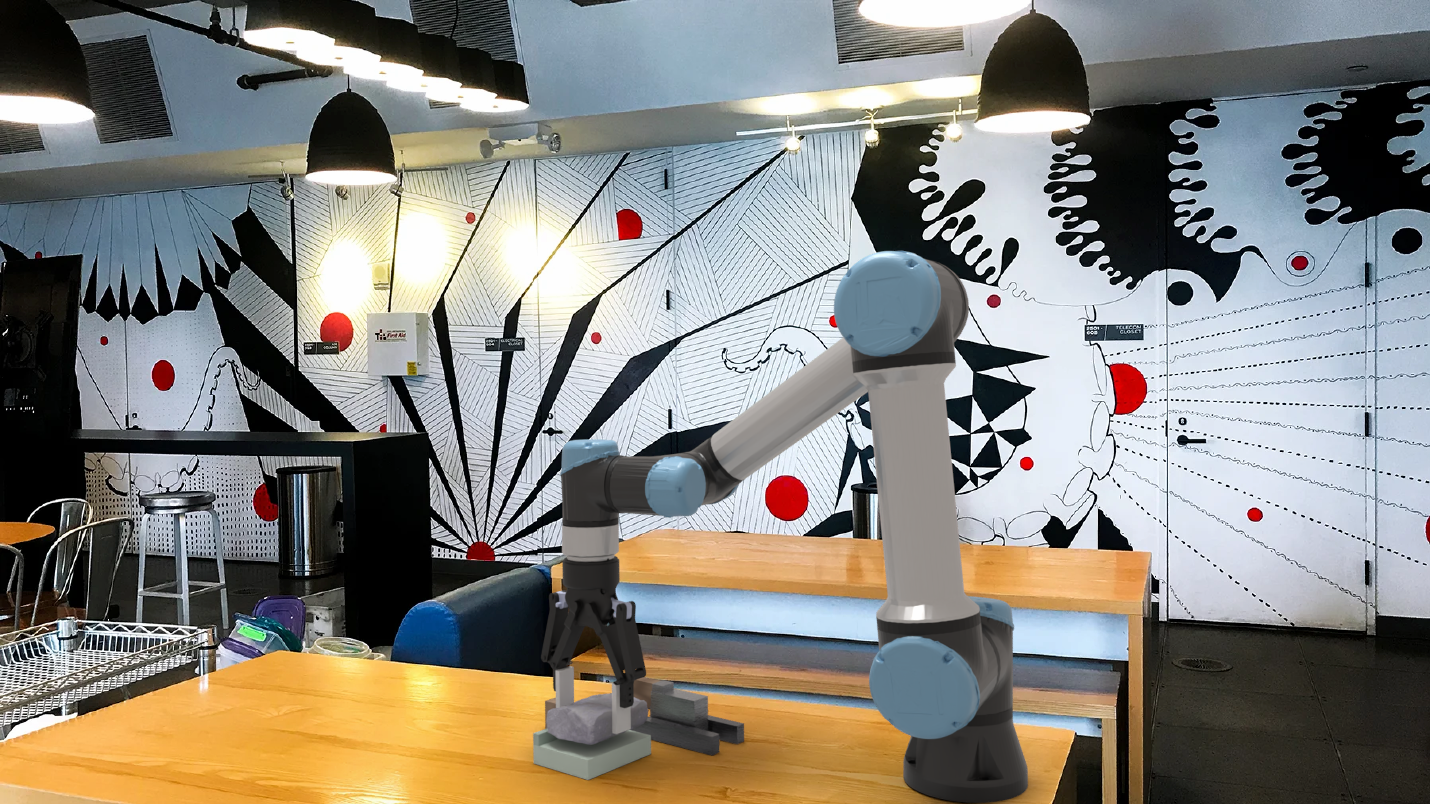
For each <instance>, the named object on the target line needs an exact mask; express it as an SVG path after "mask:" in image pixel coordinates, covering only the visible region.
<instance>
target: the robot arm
mask: <svg viewBox="0 0 1430 804" xmlns="http://www.w3.org/2000/svg"><path fill="white" fill-rule="evenodd" d="M844 274H845V275H843V277H842V278H841V280H840V281H839V284H838V287H837V289H836V291H835V296H834V300H833V315H834V320H835V321H834V322H835V324H836V326H837V329H838V332H839V333H840V335H841V336H842V338H841V339H839V340H838V341H836V342H835V343H833V345H831V346H830V347H828V348H827V349H826V350H824V351H823V352H822V353H820V354H819V355H817V356H816V357H815V358H814V359H812V360H811V361H809V362H808V363H807V364H806V365H805V366H803V367H802V368H800V369H799V370H798V371H796V372H795V373H794V374H792V375H791V376H790V377H788V378H787V379H786V380H784V381H783V382H781V383H780V384H779V385H778V386H776V387H775V388H773V390H771V391H770V392H768V393H767V394H766V395H764V396H763V397H761V398H760V399H759V400H758V401H757V402H755V403H753V404H752V405H751V406H750V407H748V408H747V409H745V410H743V412H742V413H740V414H739V415H738V416H736V417H735V418H734V419H733V420H731V421H729V422H728V423H727V424H726V425H724V426H723V427H721V429H718V431H716V432H715V433H714V434H713V435H712V436H711V437H709V438H707V439H706V440H704V442H701V444H699V445H698V446H696V447H695V448H693V449H692V450H690V451H685V452H680V453H674V454H664V455H654V456H627V455H622V454H621V455H620V450H619V445H618V443H617V441H615V440H612V439H597V438H596V439H595V438H594V439H592V438H591V439H573V440H569V441H567V442H565V443H564V445H563V446H562V451H561V452H562V453H561V470H560V473H559V476H560V480H561V481H560V482H561V483H560V484H561V485H560V486H561V500H562V501H561V502H562V503H561V504H562V507H561V508H562V518H561V519H562V522H561V527H562V528H561V554H562V555H564V556H565V558H564V559H563V560H561V562H562V563H561V564H562V585H563V586H564V587H565V588H566V590H565V589H564V590H560V591H556V592H550V593H549V595H548V600H549V601H548V602H549V613H548V617H547V622H546V628H545V634H544V637H543V639H544V640H543V644H542V649H541V656H540V659H541V661H542V662H543V663H548V664H549V665H550V667H551V668H552V682H553V683H552V688H553V691H554V692H555V698H556V708H559V707H562V706H569V705H571V704H573V703H574V702H575V668H574V666H570V665H572V664H573V663H574V662H573V661H572V657H573V655H574V653H575V649H576V648H577V645H578V643H579V641H580V638H581V636H582V634H583V631H584V629H585V628H586V627H588V628H590V629H593V630H594V633H595V635H596V636H598V637H599V638H600V641H601V644H602V646H603V648H604V650H605V653H606V656H607V658H608V661H609V664H610V666H611V670H612V672H613V675H614V677H615V679H616V680H615V681H613V682H611V693H612V733H614V734H619V733H621V732H624V731H626V730H629V729H631V706H633V703H634V695H633V694H634V681H635V680H637V679H640V678H643V677H646V676H647V670H646V665H645V659H644V655H643V650H642V646H641V640H640V636H639V631H638V626H637V621H636V609H637V607H636V605H637V604H636V602H635V601H633V600H630V601H622V600H619V598H618V595H617V590H616V589H617V587H618V585H619V583H620V578H621V577H620V558H618V556H616V554H618V553H619V552H620V545H619V544H620V543H619V541H620V538H619V537H620V532H619V530H620V529H619V527H620V525H619V524H620V523H619V522H620V514H631V515H645V516H659V517H664V518H668V519H670V518H674V517H676V518H677V517H691V516H694V515H695V514H696V513H697V512H698V510H699V508H701V506H705V505H706V506H707V505H715V504H718V503H720V502H722V501H723V500H726V499H728V498H730V497H731V496H732V495H734V494H735V492H737V489H738V488H739V485H740V484H741V483H742V482H744V481H745V480H746V479H747V478H749V477H750V476H751V475H753V474H754V473H756V472H757V471H759V470H760V469H761V468H762V467H764V466H766V465H767V464H768V463H770V462H771V461H772V460H774V459H776V458H777V457H778V456H780V455H781V454H782V453H784V452H785V451H787V450H788V449H789V448H791V447H792V446H794V445H795V444H797V443H798V442H799V441H800V440H802V439H804V438H805V437H806V436H808V435H809V434H810V433H812V432H813V431H815V430H816V429H818V428H819V427H820V426H822V425H823V424H825V423H826V422H827V421H829V420H830V419H832V418H833V417H835V416H836V415H837V414H838V413H840V412H841V411H843V410H844V409H847V407H848V406H850V405H852V404H853V403H854V402H856V401H857V400H858V399H859V398H861V397H863V396H864V395H866V394H867V393H868V402H869V412H870V415H869V416H870V423H871V435H872V445H873V454H874V456H873V457H874V466H875V474H876V475H875V476H876V487H877V499H878V508H879V518H880V529H881V530H880V531H881V537H882V539H881V540H882V549H883V550H882V551H883V559H884V560H883V561H884V571H885V581H886V592H887V597H886V600H885V601H884V603H883V604H882V605H881V606H880V607H879V608H878V610H876V613H875V616H876V618H875V619H876V629H877V637H878V638H877V640H878V652H877V653H876V654H875V656H874V657H873V660H872V663H871V666H870V669H869V670H870V671H869V676H868V682H869V683H868V685H869V690H870V691H869V692H870V695H871V698H872V702H873V703H874V705H875V707H876V709H877V711H878V712H879V713H880V715H881V716H882V717H883V719H885V720H886V721H887V722H889V723H890V725H892V726H893V727H894V728H896V730H898V731H900V732H902V733H903V734H906V735H908V736H909V737H910V738H909V741H908V744H907V747H906V751H905V753H904V757H903V761H902V762H903V768H902V769H903V780H904V782H905V783H906V784H907V785H908V786H909V788H910V787H911V788H912V789H913V790H915V791H916V792H919V793H922V794H924V795H926V796H929V797H933V798H936V799H939V800H945V801H951V802H958V803H967V804H968V803H971V804H973V803H974V804H975V803H976V804H983V803H984V804H985V803H996V802H997V803H999V802H1003V801H1008V800H1011V799H1015V798H1017V797H1019V796H1021V795H1022V794H1024V793H1025V792H1026V791H1027V789H1028V786H1029V785H1028V784H1029V780H1028V779H1029V777H1028V775H1029V771H1028V764H1027V761H1026V758H1025V754H1024V752H1023V748H1022V746H1021V743H1020V740H1019V737H1018V734H1017V731H1016V727H1015V725H1014V715H1013V714H1014V712H1013V711H1014V710H1013V709H1014V708H1013V707H1014V706H1013V705H1014V685H1013V684H1014V672H1013V671H1014V657H1013V656H1014V655H1013V654H1014V653H1013V651H1014V650H1013V649H1014V636H1013V635H1014V630H1015V624H1014V620H1013V609H1012V608H1011V606H1010V604H1009V603H1008V602H1006V601H1004V600H1002V599H998V598H991V597H983V596H982V597H981V596H970V595H967V594H966V592H965V584H964V576H963V575H964V574H963V566H962V555H961V545H960V535H959V534H960V533H959V525H958V524H959V523H958V516H957V515H958V514H957V505H956V504H957V503H956V493H955V491H956V490H955V483H954V473H953V472H954V471H953V462H952V453H951V441H950V432H949V431H950V429H949V422H948V411H947V400H946V391H945V383H946V381H947V378H948V377H949V376H950V374H952V372H953V371H954V369H955V368H957V360H956V351H955V342H956V341H957V340H958V339H959V337H960V336H961V334H962V332H963V330H964V329H965V326H966V325H967V321H968V318H969V312H970V306H969V298H968V297H969V296H968V294H967V293H968V292H967V290H966V288H965V285H964V283H963V281H962V280H961V279H960V277H959V275H957V274H956V273H955V272H954V271H953V270H951V269H950V268H949V267H948V266H946V265H945V264H942V263H940V262H937V261H934V260H930V259H926V258H923V257H922V256H920V255H917V254H916V253H914V252H910V251H904V250H895V251H894V250H884V251H878V252H874V253H872V254H869V255H866V256H864V257H863V258H861V259H860V260H859V259H858V260H857V262H856V263H854V264H853V265H852V266H851V267H850V268H849V269H848V270H847V271H846V273H844ZM568 665H569V666H568Z"/></svg>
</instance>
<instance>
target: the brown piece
mask: <svg viewBox="0 0 1430 804" xmlns="http://www.w3.org/2000/svg"><path fill="white" fill-rule="evenodd" d="M659 681H661V680H660V679H655V678H650V677H646V676H645V677H643V678H640V679H637V680H635V681H634V694H633V695H634V697H635V698H637V699H639V700H644V701H645V702H646V703H647V708H648V710H650V706H651V691H652V684H653V683H656V682H659ZM544 708H545V709H544V714H545V715H544V716H545V717H544V721H545V722H544V725H545V726H544V728H545V729H547V724H546V719H547V713H548V710H551V709H553V708H556V697H552V698H550V699H547V700H545V701H544Z"/></svg>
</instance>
